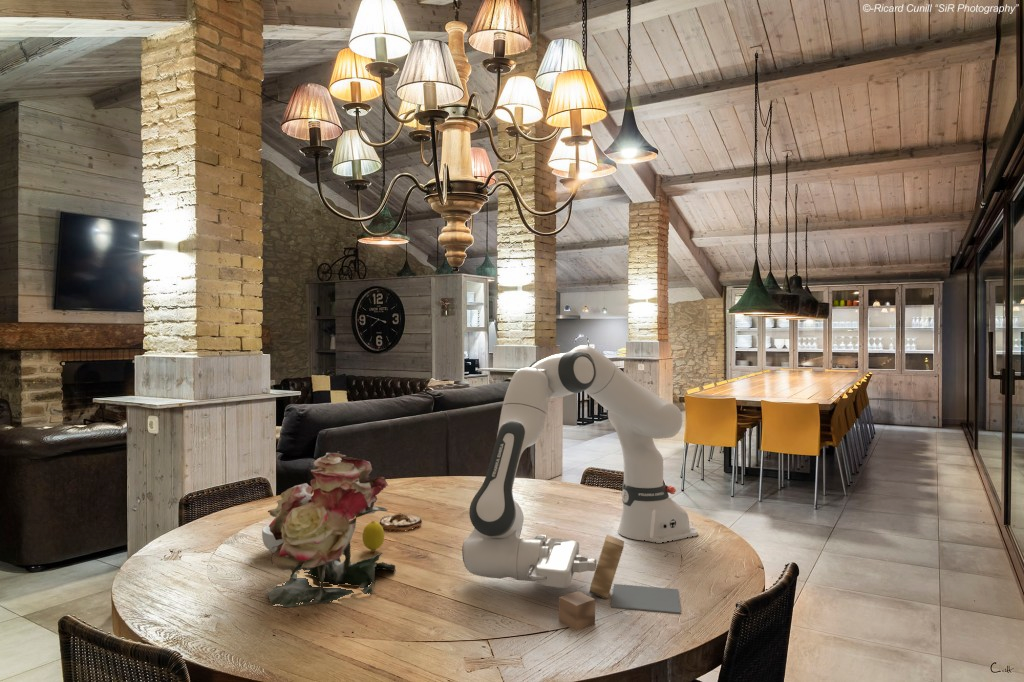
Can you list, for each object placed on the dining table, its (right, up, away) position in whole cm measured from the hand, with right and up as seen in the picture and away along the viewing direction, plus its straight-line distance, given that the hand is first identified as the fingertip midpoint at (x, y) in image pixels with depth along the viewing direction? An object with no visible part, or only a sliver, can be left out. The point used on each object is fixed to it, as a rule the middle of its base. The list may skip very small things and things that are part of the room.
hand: (596, 564), depth 138 cm
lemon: (-55, -6, +27) cm, 61 cm away
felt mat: (+10, -6, -2) cm, 12 cm away
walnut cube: (-6, -7, -14) cm, 16 cm away
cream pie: (-52, -7, +50) cm, 72 cm away
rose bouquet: (-60, -7, +4) cm, 61 cm away
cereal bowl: (-74, -6, +26) cm, 79 cm away
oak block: (+1, -6, 0) cm, 6 cm away
